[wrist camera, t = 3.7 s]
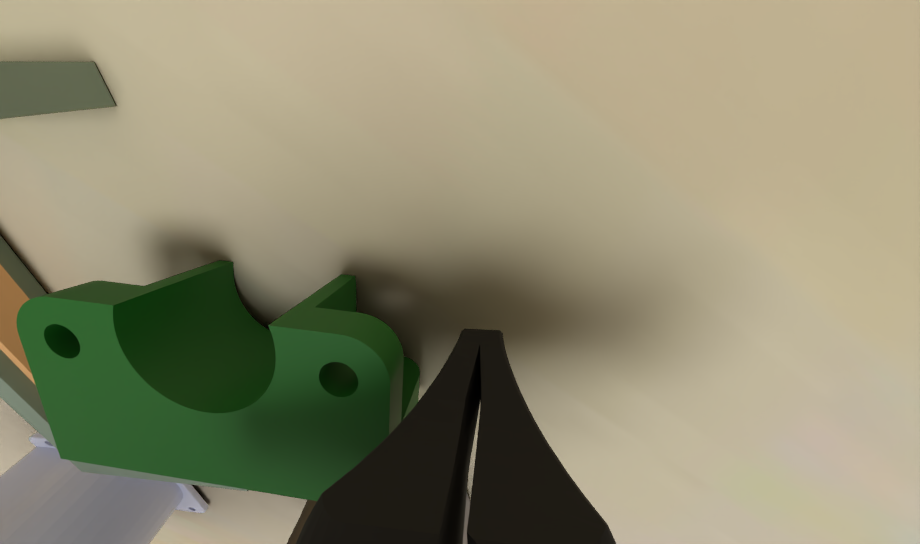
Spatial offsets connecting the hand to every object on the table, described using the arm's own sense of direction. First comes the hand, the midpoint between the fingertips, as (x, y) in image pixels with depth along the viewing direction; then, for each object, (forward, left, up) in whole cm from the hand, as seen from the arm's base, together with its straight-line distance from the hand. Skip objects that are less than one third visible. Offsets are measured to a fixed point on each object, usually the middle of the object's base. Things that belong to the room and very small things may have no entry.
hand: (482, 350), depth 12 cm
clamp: (-8, 0, -2) cm, 8 cm away
